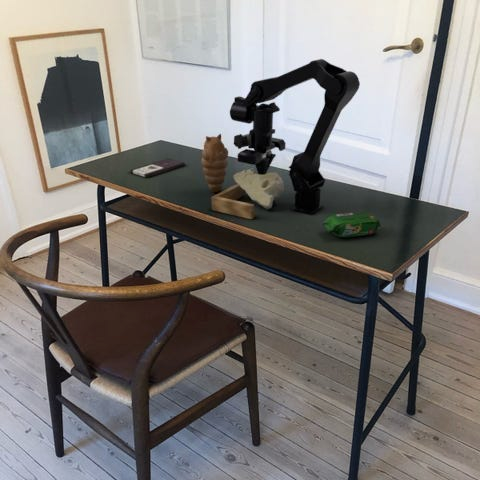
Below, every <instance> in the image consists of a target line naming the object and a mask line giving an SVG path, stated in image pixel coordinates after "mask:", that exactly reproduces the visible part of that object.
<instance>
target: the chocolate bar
mask: <svg viewBox="0 0 480 480" xmlns="http://www.w3.org/2000/svg"><path fill="white" fill-rule="evenodd" d="M184 166H186V165H185V162H184V161H180V160H176V159H172V158H170V157H169V158H165V159H160V160H158V161H154V162H151V163H148V164H145V165H142V166H137V167H135V168H132V169H130V170H129V171H130V174H134V175H137V176H141V177H144V178H151V177H152V176H157V175H159V174H162V173H165V172H168V171H169V172H170V171H171V170H174V169H178V168H181V167H184Z"/></svg>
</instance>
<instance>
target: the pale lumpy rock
mask: <svg viewBox="0 0 480 480" xmlns="http://www.w3.org/2000/svg"><path fill="white" fill-rule="evenodd" d="M254 169H255V167H252V168H249V169H243V170H242V171H239V172H236V173H234V174H233V176H232V177H233V180H234V182H236V184H238V185H239V186H240V187H241V188H242V191H243V190H244V191H245V193H246V194H247V196H249V198H250V199H251V200H252V202H254V203H256V204H257V205H258V206H260V207H262V208H264V209H265V210H270V209H272V207H273V203H274V200H277V199H279V198H280V197H281V196H282V195H283V193H284V190H285V182H284V180H283V179H282V177H281V176H280V175H279V174H278V173H277V172H276V171H275V172H274V171H273V172H272V171H271V172H268V173H267V172H266V174H265V175H260V174H258V172H257V173H256V170H254Z"/></svg>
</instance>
